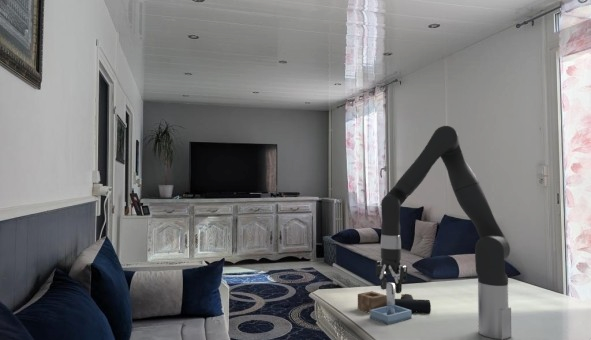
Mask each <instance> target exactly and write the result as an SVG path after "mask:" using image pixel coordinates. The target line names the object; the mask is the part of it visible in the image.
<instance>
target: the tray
mask: <svg viewBox="0 0 591 340" xmlns="http://www.w3.org/2000/svg"><path fill="white" fill-rule="evenodd" d="M412 313H413V312H412V310H409V309H406V308H402V307H399V306H396V305H395V314H391V315H387V306H385V307H381V308H377V309H372V310H370V313H369V318H370V319H372V320H373V321H377V322H380V323H383V324H385V325H392V324H396V323H399V322H403V321H407V320H411V319H412V317H413V316H412Z"/></svg>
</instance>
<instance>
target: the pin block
mask: <svg viewBox="0 0 591 340" xmlns="http://www.w3.org/2000/svg"><path fill="white" fill-rule="evenodd" d="M385 306H387V304H386V294H383V293H380V292H379V293H378V292H376V291H374V290H372V291H366V292H361V293H358V294H357V310H359V309H360V310H359V311H362V310H363V312H365V311H366V313H368V312H369V313H368V314H370V310H372V309H377V308H381V307H385Z"/></svg>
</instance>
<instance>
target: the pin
mask: <svg viewBox="0 0 591 340" xmlns="http://www.w3.org/2000/svg"><path fill="white" fill-rule="evenodd" d="M385 291H386V294H385V295H386V304H387V315H391V314H395V299H396V282H392V281H391V282H386V289H385Z"/></svg>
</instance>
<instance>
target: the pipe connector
mask: <svg viewBox="0 0 591 340" xmlns="http://www.w3.org/2000/svg"><path fill="white" fill-rule="evenodd" d="M400 294H401V293H400ZM395 305H396V306H399V307H402V308H406V309H409V310H412V313H418V314H419V313H421V314H431V310H432V305H431V301H430V300H429V299H416V298H415V299H414V297H413V294H410V293H404V294H403V293H402V294H401V297H400V298H395Z"/></svg>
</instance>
